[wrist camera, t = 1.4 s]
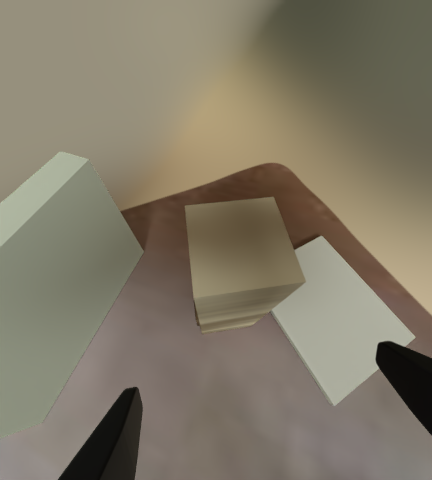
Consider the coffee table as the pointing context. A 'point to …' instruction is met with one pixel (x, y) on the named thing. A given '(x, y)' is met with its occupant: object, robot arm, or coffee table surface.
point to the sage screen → (55, 282)
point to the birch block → (239, 262)
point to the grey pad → (336, 321)
